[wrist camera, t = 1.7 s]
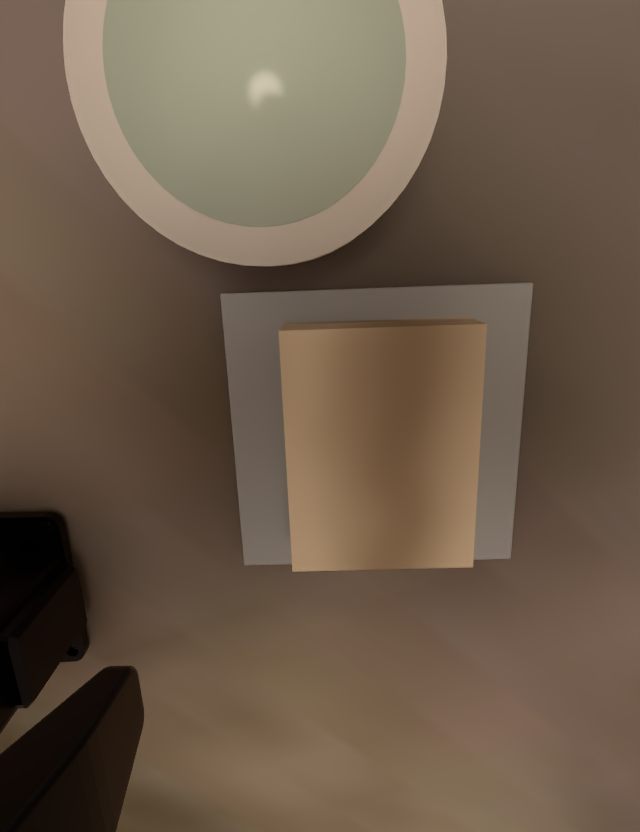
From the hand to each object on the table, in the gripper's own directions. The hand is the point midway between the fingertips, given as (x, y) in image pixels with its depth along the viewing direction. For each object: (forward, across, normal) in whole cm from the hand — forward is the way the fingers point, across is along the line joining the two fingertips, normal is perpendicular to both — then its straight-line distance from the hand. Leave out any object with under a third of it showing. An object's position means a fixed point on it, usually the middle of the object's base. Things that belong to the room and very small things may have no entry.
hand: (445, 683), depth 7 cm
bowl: (+12, +3, -10) cm, 16 cm away
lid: (+11, 0, 0) cm, 11 cm away
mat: (+12, 0, 0) cm, 12 cm away
